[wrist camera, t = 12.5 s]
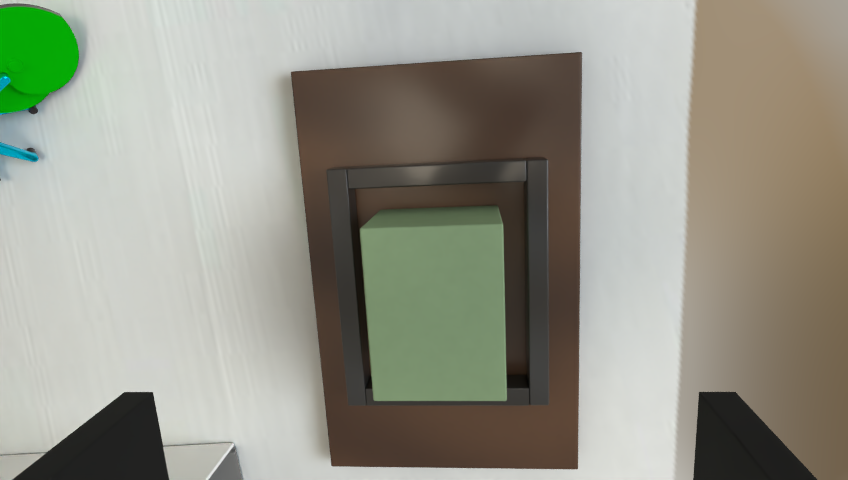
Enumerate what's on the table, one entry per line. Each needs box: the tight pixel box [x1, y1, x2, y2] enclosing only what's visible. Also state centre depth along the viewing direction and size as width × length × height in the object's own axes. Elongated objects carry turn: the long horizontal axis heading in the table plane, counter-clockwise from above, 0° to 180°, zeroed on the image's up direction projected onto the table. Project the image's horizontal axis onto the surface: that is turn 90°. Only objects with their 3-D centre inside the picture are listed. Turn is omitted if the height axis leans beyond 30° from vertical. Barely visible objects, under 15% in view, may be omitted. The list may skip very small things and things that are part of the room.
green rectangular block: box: [360, 205, 507, 401], centre depth 25 cm, size 8×6×5 cm
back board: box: [291, 52, 582, 469], centre depth 27 cm, size 22×14×2 cm, turn 3°
